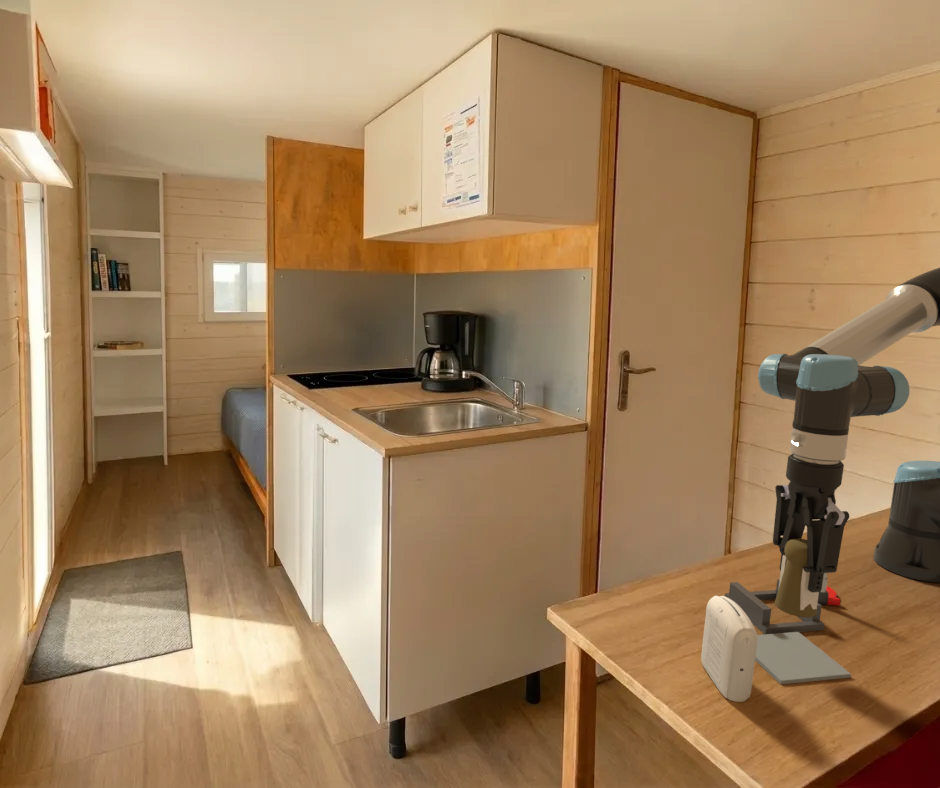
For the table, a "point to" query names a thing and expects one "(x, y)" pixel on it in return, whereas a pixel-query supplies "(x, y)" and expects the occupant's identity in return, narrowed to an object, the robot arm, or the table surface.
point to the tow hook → (827, 594)
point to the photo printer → (729, 648)
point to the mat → (795, 659)
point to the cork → (793, 580)
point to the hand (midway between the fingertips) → (796, 600)
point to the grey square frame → (769, 611)
